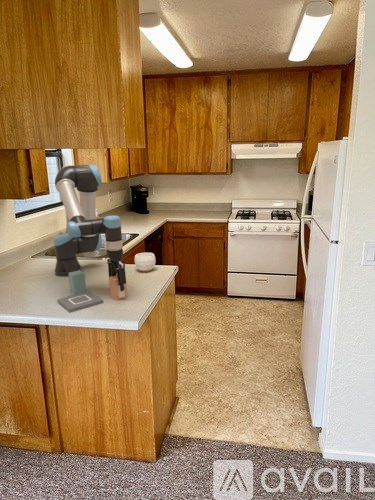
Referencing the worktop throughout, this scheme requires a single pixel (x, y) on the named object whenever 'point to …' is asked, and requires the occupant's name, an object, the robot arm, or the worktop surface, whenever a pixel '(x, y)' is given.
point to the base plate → (79, 301)
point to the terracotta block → (115, 288)
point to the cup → (145, 261)
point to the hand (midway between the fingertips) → (118, 294)
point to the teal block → (77, 282)
